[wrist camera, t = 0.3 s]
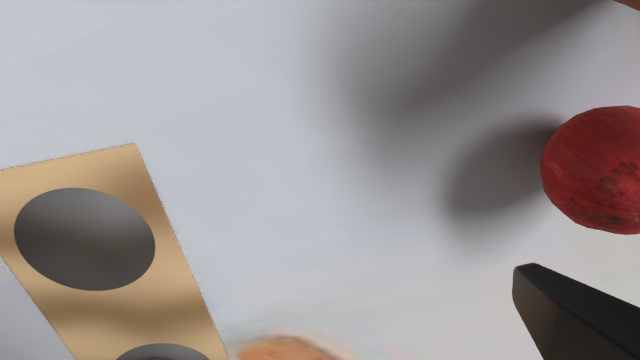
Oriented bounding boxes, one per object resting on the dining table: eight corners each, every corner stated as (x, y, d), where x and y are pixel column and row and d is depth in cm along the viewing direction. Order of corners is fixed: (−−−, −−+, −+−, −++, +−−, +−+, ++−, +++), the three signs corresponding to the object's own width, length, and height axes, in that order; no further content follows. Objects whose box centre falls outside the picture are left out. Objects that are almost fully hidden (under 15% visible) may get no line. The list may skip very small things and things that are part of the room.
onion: (523, 196, 26) (617, 299, 19) (502, 114, 23) (604, 201, 16) (623, 154, 25) (757, 245, 18) (614, 63, 22) (770, 132, 15)
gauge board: (-50, 179, 21) (-53, 182, 21) (135, 142, 22) (134, 144, 21) (123, 420, 33) (122, 423, 32) (245, 396, 33) (244, 398, 32)
